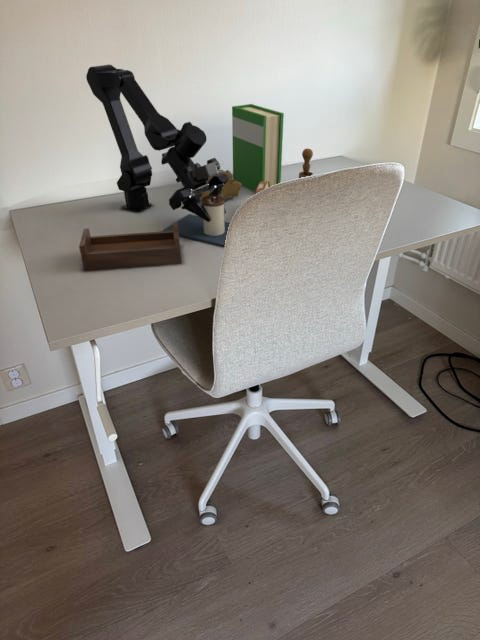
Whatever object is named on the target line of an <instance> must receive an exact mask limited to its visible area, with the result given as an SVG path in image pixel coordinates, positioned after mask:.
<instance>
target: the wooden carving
mask: <svg viewBox="0 0 480 640" xmlns="http://www.w3.org/2000/svg"><path fill="white" fill-rule="evenodd" d="M218 173H225V174H226V175H227V177H228V178H229V181H228V182H227V183H226V184H225V185H224V186H223V187H222V192H221V193H222V197H223V198H224V199H225V200H227V199H228V198H236V197H238V196H239V193H240V190H241V188H242V187H243V185H242V184H241V183H240V182H239V181H237V180H234V179H233V173H232V172H231V171H230V170H227V169H226V171H225V170H223V169H219V170H218ZM214 175H216V174H214ZM214 175H212V176H211V177H210V179H211V178H212V177H213V176H214ZM210 179H209V180H210ZM209 180H208V181H207V183H208V182H209ZM202 189H203V188H202ZM199 195H200V201H201V199H202V198H203V197H206V196H208V193H207V192H203V193H201V194H199Z"/></svg>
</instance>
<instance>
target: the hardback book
mask: <svg viewBox="0 0 480 640" xmlns="http://www.w3.org/2000/svg"><path fill="white" fill-rule="evenodd" d="M284 114H285V113H284V112H280V111H277V110H274V109H270V108H267V107H263V106H260V105H256V104H254V103H249V104H248V103H247V104H241V105H233V106H231V120H232V121H231V126H232V128H231V129H232V131H231V133H232V177H233V178H232V179H234V180H237V181H239V182H240V183H241V184H242V187H243V186H244V187H246V188H247V189H249V190H252V191H253V192H255V191H256V189H257V187H258V185H259V183H260V182H266V181H269V184H270V186H272V185H275V184H278V183H280V182H281V181H282V162H283V161H282V160H283V159H282V158H283V135H284V117H285V116H284Z"/></svg>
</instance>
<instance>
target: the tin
mask: <svg viewBox="0 0 480 640" xmlns="http://www.w3.org/2000/svg"><path fill="white" fill-rule="evenodd" d="M268 187H270V184H269V181H266V182H260V183H259V185H258V187H257V189H256V191H254V195H255V194H256V193H258V192H260V191H262V190H264V189H266V188H268Z"/></svg>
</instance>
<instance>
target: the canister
mask: <svg viewBox="0 0 480 640" xmlns="http://www.w3.org/2000/svg"><path fill="white" fill-rule="evenodd" d="M200 202H201V203H202V205H203V206H204V208H205V210H206V211H207V213H208V214H209V216H210V218H211V221H210V222H207V221H206V220H204V219H203V230H204V233H205V234H207V235H211V236H217V235H221V234H223V233H224V232H225V222H226V221H225V219H226V218H225V214H224V206H225V203H226V199H224V198H223V197H221V196H216V195H211V196H206V197H203V198H202V199H201V200H200Z"/></svg>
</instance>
